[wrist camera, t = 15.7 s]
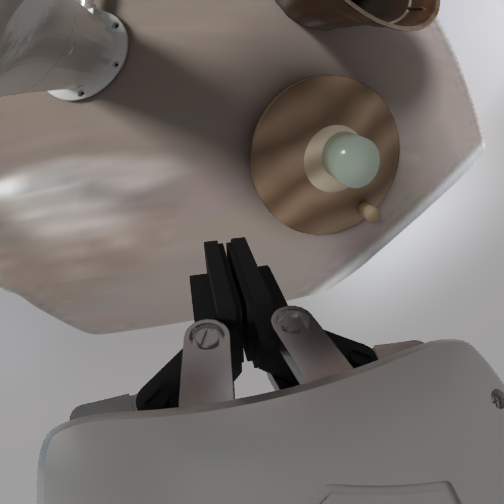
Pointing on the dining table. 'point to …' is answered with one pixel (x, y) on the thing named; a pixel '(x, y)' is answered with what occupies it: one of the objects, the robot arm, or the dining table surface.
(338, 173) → the sage green rounded cylinder
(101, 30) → the robot arm
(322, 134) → the disc
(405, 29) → the plant pot
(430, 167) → the dining table surface
